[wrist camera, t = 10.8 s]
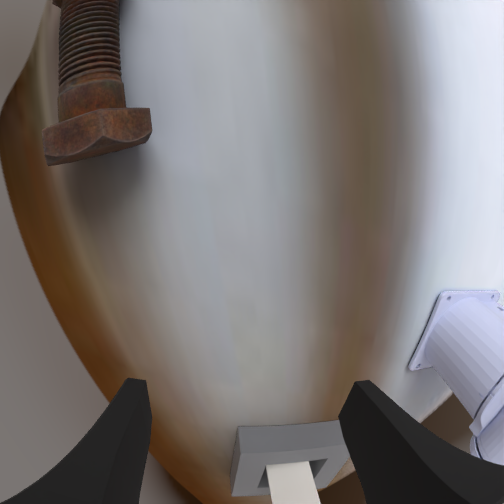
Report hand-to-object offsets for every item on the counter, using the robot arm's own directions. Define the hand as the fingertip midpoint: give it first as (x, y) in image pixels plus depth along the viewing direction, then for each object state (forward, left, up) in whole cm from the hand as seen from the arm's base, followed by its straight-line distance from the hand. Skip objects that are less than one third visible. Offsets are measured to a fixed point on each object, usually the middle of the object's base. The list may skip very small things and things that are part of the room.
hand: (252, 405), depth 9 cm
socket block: (-7, +20, -9) cm, 23 cm away
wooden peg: (-7, +20, -9) cm, 23 cm away
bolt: (+9, -15, -10) cm, 20 cm away
